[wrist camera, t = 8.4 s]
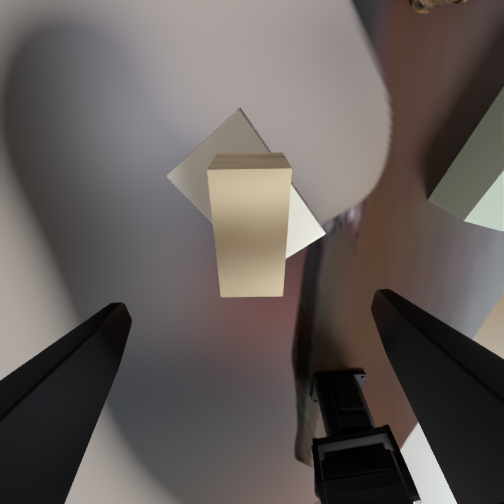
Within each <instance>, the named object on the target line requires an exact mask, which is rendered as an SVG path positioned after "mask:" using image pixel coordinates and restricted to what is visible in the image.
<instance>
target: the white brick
mask: <svg viewBox="0 0 504 504" xmlns="http://www.w3.org/2000/svg"><path fill="white" fill-rule="evenodd" d="M228 153H271V151H270V150H269V148H268V147H267V145H266V144H265V142H264V141H263V140H262V138H261V137H260V135H259V134H258V132H257V131H256V130H255V128H254V127H253V125H252V124H251V122H250V121H249V119H248V118H247V117H246V115H245V114H244V112H243V111H242V109H241V108H240V109H238V110H237V111H236V112H235V113H234V114H233V115H232V116H231V117H229V118H228V119H227V120H226V121H225V122H224V123H223V124H222V125H221V126H220V127H219V128H218V129H217V130H216V131H214V132H213V133H212V134H211V135H210V136H209V137H208V138H207V139H206V140H205V141H204V142H203V143H201V145H199V146H198V147H197V148H196V149H195V150H194V151H193V152H192V153H191V154H190V155H189V156H187V157H186V158H185V159H184V160H183V161H182V162H181V163H180V164H179V165H178V166H177V167H176V168H175V169H173V170H172V171H171V172H170V173H169V174H168V175H167V176H166V177H167V178H168V179H169V180H170V181H171V182H172V183H173V184H174V185H175V186H176V187H177V188H178V189H179V190H180V191H181V192H182V193H183V194H184V196H186V198H187V199H188V200H189V201H190V202H191V203H192V204H193V205H194V206H195V207H196V208H197V209H198V210H199V211H200V212H201V213H202V214H203V215H204V216H205V217H206V218H207V219H208V220H209V222H210V223H211V224H212V225H213V222H212V213H211V203H210V194H209V185H208V176H207V169H208V167H209V165H210V164H211V162H212V161H213V159H214V157H215V156H216V154H228ZM325 234H326V233H325V232H324V230H323V228H322V226H321V224H320V223H319V221H318V219H317V218H316V216H315V215H314V213H313V212H312V210H311V209H310V207H309V206H308V205H307V203H306V202H305V200H304V199H303V198H302V196H301V194H300V193H299V191H298V190H297V189H296V187H295V186H294V185H293V183H292V181H291V191H290V205H289V218H288V232H287V246H286V258H287V257H289V256H291V255H293V254H294V253H296V252H298V251H299V250H301V249H302V248H304V247H306V246H307V245H309V244H310V243H312V242H314V241H315V240H317V239H318V238H320V237H322V236H323V235H325Z"/></svg>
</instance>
